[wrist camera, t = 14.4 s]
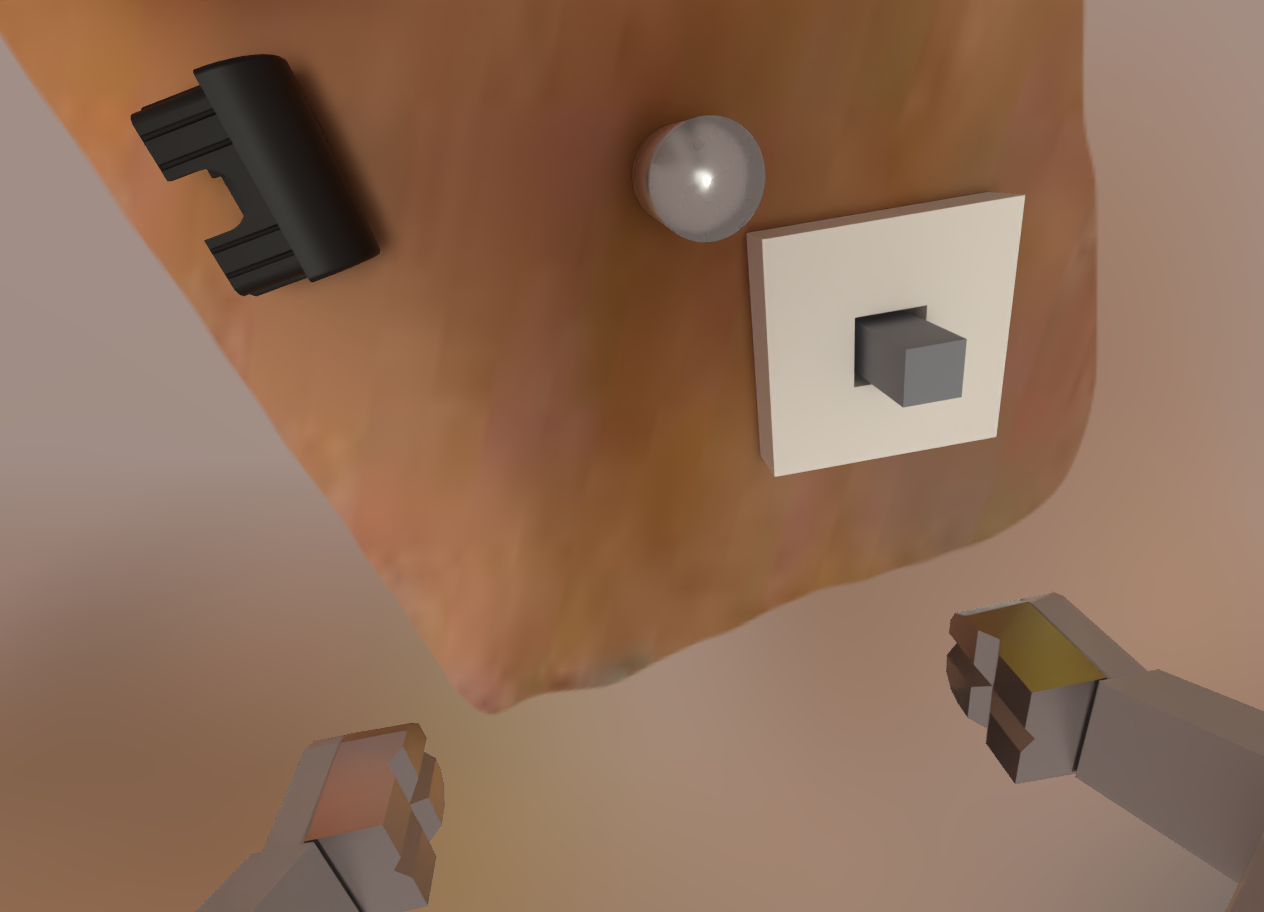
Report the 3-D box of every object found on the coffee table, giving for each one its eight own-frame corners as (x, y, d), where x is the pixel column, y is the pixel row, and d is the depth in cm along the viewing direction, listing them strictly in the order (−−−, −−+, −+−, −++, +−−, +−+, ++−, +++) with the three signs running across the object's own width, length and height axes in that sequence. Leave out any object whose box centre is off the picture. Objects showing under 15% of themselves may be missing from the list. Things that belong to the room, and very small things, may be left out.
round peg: (625, 131, 37) (643, 125, 29) (718, 116, 37) (762, 106, 29) (638, 231, 40) (658, 250, 32) (726, 216, 40) (768, 232, 32)
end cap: (396, 245, 39) (365, 262, 33) (289, 285, 39) (239, 309, 33) (307, 63, 34) (253, 43, 28) (188, 109, 35) (109, 100, 29)
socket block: (746, 232, 40) (761, 239, 37) (989, 191, 41) (1025, 195, 38) (760, 455, 47) (774, 476, 44) (967, 418, 48) (996, 436, 45)
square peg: (841, 313, 43) (906, 349, 35) (891, 304, 43) (966, 339, 35) (841, 361, 45) (903, 407, 37) (889, 353, 45) (961, 397, 37)
